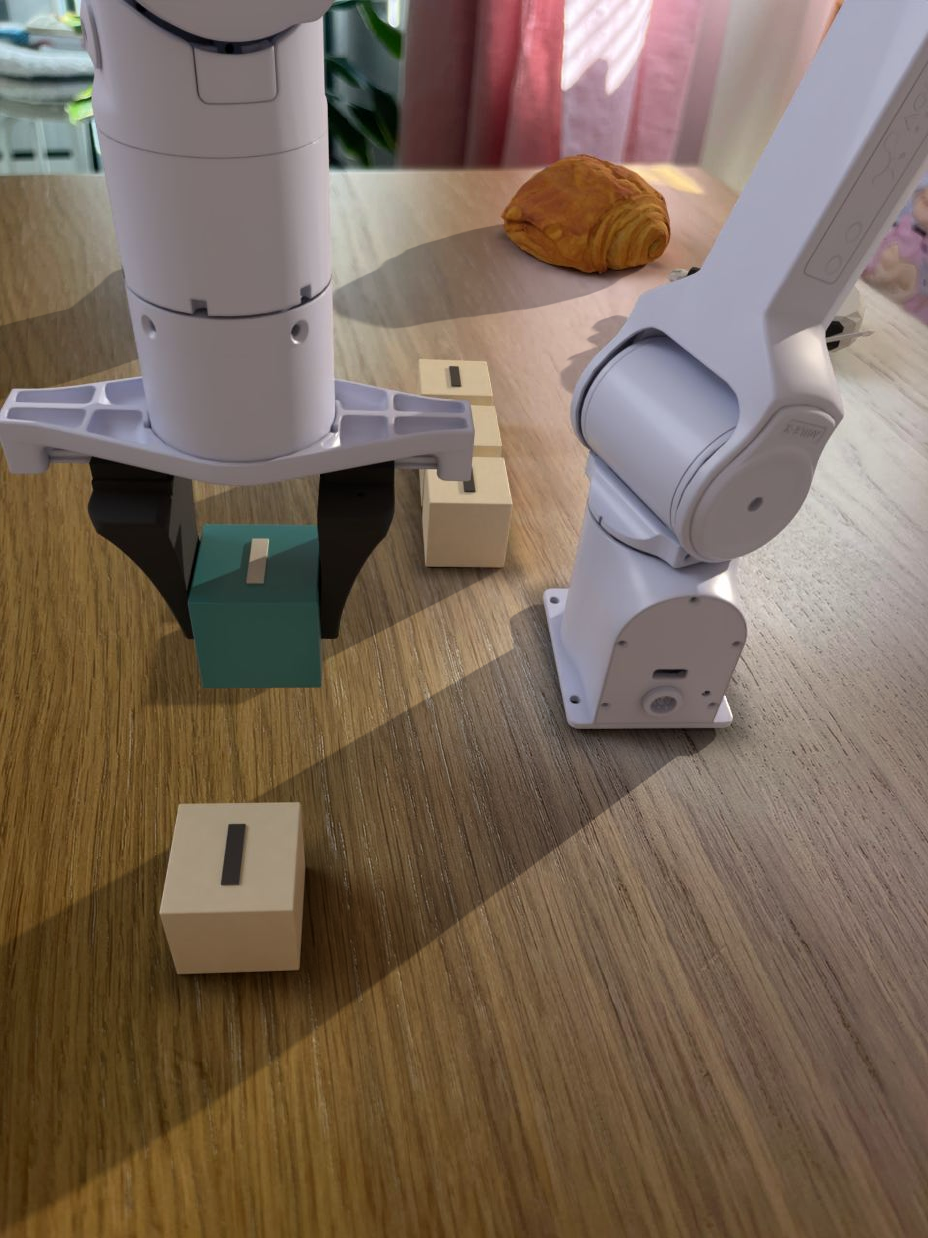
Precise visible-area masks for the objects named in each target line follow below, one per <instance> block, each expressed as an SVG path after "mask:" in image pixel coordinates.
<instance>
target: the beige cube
mask: <svg viewBox="0 0 928 1238" xmlns="http://www.w3.org/2000/svg"><path fill="white" fill-rule="evenodd" d="M505 462H506V461H505V457H501V458H493V457H473V459H472V469H471V479H470V481H444V480H441V479H439V478H438V476H437V469H425V479H424V497H423V507H422V516H421V517H422V519H421V521H422V535H423V538H422V539H423V551H424V565H425V567H426V568H427V567H429V568H430V567H431V568H432V567H433V568H434V567H436V568H438V567H439V568H440V567H441V568H504V567H505V560H506V554H507V547H508V539H509V533H510V527H511V526H510V525H511V518H512V511H513V500H512V494H511V489H510V488H511V487H510V483H509V478H508V472H507V467H506V463H505Z"/></svg>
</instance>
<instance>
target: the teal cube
mask: <svg viewBox="0 0 928 1238" xmlns="http://www.w3.org/2000/svg"><path fill="white" fill-rule="evenodd" d="M199 540H200V544H199V549H198V554H197V559H196V564H195V569H194V574H193V579H192V584H191V589H190V594H189V599H188V608H189V613H190V619H191V625H192V630H193V636H194V639H193V640H194V641H193V642H194V646H195V652H196V657H197V663H198V669H199V674H200V681H201V685H202V688H203V689H297V688H298V689H310V688H311V689H313V688H314V689H315V688H316V689H317V688H321V687H322V686H323V685H322V683H323V664H324V663H323V661H324V642H325V639H321V627H320V597H321V578H322V577H321V562H320V550H319V539H318V530H317V524H309V525H308V524H239V523H237V524H236V523H235V524H234V523H230V524H228V523H227V524H226V523H205V524H203V526H202V531H201V535H200V538H199Z"/></svg>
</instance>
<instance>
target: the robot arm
mask: <svg viewBox="0 0 928 1238" xmlns="http://www.w3.org/2000/svg"><path fill="white" fill-rule="evenodd" d="M335 1H336V0H80V7H79V8H80V9H79V21H80V27H81V29H80V30H81V33H82V38H83V42H84V46H85V49H86V53H87V54H88V56H89V58H90V60H91V62H92V67H93V73H94V75H93V83H92V86H91V92H90V94H91V109H92V114H93V119H94V124H95V128H96V134H97V139H98V145H99V152H100V156H101V161H102V167H103V173H104V178H105V183H106V189H107V195H108V200H109V206H110V212H111V217H112V222H113V228H114V234H115V239H116V244H117V249H118V256H119V260H120V266H121V272H122V278H123V283H124V287H125V292H126V298H127V303H128V304H127V305H128V310H129V314H130V320H131V325H132V331H133V336H134V341H135V347H136V353H137V358H138V364H139V368H140V369H139V370H140V374H141V375H140V376H133V377H126V378H120V379H112V380H106V381H99V382H91V383H85V384H76V385H68V386H60V387H44V388H43V387H42V388H12V389H11V390H10V392H9V393H8V396H7V398H6V400H5V402H4V404H2V407H1V409H0V445H1V448H2V450H3V454H4V457H5V461H6V463H7V466H8V469H9V473H10V474H12V475H42V474H44V473H46V472H47V471H48V470H49V469H50V466H51V464H88V466H89V470H90V473H91V478H92V479H91V481H90V483H91V488H92V491H91V494H90V496H89V500H88V502H87V513H88V517H89V519H90V522H91V524H92V526H93V528H94V530H95V532H96V533H97V534H98V535H99V536H101V537H102V538H104V539H106V540H107V542H109V543H111V544H112V545H114V546H115V547H116V548H118V549H119V550H120V551H121V552H122V553H123V554H124V555H125V556H127V557H128V558H129V559H130V560H131V561H132V562H133V563H134V564H135V565H136V566H137V568H139V570H141V571H142V573H143V574H144V575H145V576H146V577H147V578H148V580H149V581H150V582H151V584H152V585H153V587H155V589H156V590H157V591H158V593H159V594H160V595H161V597H162V599H163V600H164V602H165V603H166V605H167V606H168V608H169V609H170V611H171V613H172V615H173V616H174V618H175V620H176V622H177V624H178V625H179V628H180V629H181V631H182V634H183V636H184V638H185V639H186V640H194V636H193V630H192V625H191V619H190V613H189V608H188V599H189V594H190V589H191V584H192V579H193V574H194V569H195V564H196V559H197V554H198V549H199V544H200V536H199V531H198V525H197V519H196V508H195V498H194V497H195V496H194V486H193V485H194V484H193V481H195V482H201V483H204V484H205V483H206V484H210V485H216V486H226V487H251V486H262V485H263V486H264V485H269V484H274V483H281V482H285V481H291V480H296V479H301V478H306V477H313V476H318V475H319V479H318V480H319V481H318V492H317V493H318V494H317V506H316V507H317V509H316V512H317V513H316V525H317V530H318V539H319V550H320V562H321V577H322V578H321V597H320V627H321V639H324V640H336V639H338V638H339V636H340V625H341V620H342V617H343V612H344V610H345V607H346V603H347V601H348V597H349V596H350V593H351V592H352V591H351V590H352V588H353V586H354V584H355V583H356V580H357V578H358V576H359V574H360V572H361V570H362V568H363V567H364V565H365V563H366V562H367V560H368V559H369V558H370V556H371V555H372V553H373V552H374V550H375V549H376V548H378V546H379V544H380V543H381V542H382V541H383V540H384V539H385V538H386V537H387V536H388V535H387V534H388V533H389V530H390V528H391V525H392V522H393V520H394V516H395V510H396V492H395V477H396V476H395V474H396V473H395V472H396V470H419V469H437V476H438V478H439V479H441V480H444V481H470V479H471V469H472V459H473V448H474V438H475V429H474V423H473V416H472V410H471V403H470V401H468V400H453V399H441V398H432V397H425V396H420V395H417V394H413V393H408V392H403V391H399V390H394V389H390V388H385V387H380V386H376V385H371V384H366V383H362V382H357V381H351V380H348V379H346V380H345V379H343V378H337V377H335V347H334V346H335V345H334V344H335V343H334V340H335V339H334V304H333V303H334V300H333V299H334V298H333V296H334V295H333V273H332V271H333V270H332V269H333V268H332V236H331V235H332V234H331V233H332V231H331V229H332V228H331V198H330V197H331V195H330V191H331V190H330V158H329V157H330V153H329V152H330V151H329V149H330V148H329V117H328V115H329V114H328V113H329V112H328V111H329V110H328V109H329V108H328V107H329V106H328V101H327V100H328V99H327V96H326V91H325V53H324V51H325V49H324V48H325V47H324V15H325V14H326V13H327V12H328V10H329V9H331V7H332V5H333V4H334V3H335ZM927 171H928V0H843V3H842V5H841V6H840V8H839V10H838V12H837V14H836V15H835V17H834V19H833V21H832V23H831V24H830V27H829V29H828V31H827V32H826V34H825V36H824V38H823V40H822V42H821V44H820V45H819V47H818V49H817V51H816V53H815V55H814V57H813V58H812V60H811V62H810V64H809V66H808V67H807V69H806V71H805V73H804V75H803V77H802V79H801V80H800V82H799V84H798V86H797V88H796V90H795V92H794V94H793V96H792V97H791V99H790V101H789V103H788V105H787V107H786V109H785V111H784V112H783V114H782V116H781V118H780V119H779V122H778V124H777V126H776V127H775V129H774V131H773V133H772V135H771V137H770V139H769V140H768V142H767V144H766V146H765V148H764V150H763V151H762V154H761V155H760V157H759V158H758V161H757V163H756V165H755V166H754V169H753V170H752V172H751V174H750V176H749V178H748V180H747V181H746V183H745V185H744V187H743V189H742V191H741V192H740V195H739V196H738V199H737V200H736V202H735V204H734V206H733V208H732V210H731V212H730V213H729V215H728V217H727V218H726V221H725V222H724V225H723V226H722V228H721V230H720V232H719V234H718V235H717V238H716V239H715V240H714V243H713V245H712V247H711V248H710V251H709V252H708V253H707V256H706V258H705V260H704V262H703V263H702V265H701V267H700V268H701V269H700V270H699V271H698V272H696V273H694V274H692V275H690V276H687V277H685V278H682V279H679V280H676V281H673V282H670V281H669V282H668V283H665V284H662V285H659V286H657V287H654V288H651V289H648V290H647V291H645V292H643V293H642V294H640V295H639V296H638V298H637V300H636V302H635V303H634V307H633V308H632V310H631V312H630V314H629V316H628V317H627V319H626V321H625V323H624V324H623V325H622V327H621V328H620V330H619V331H618V332H617V334H616V335H615V336H614V337H613V338H611V340H610V341H608V343H607V344H605V345H604V347H603V348H602V349H601V350H600V351H599V352H597V354H595V355H594V357H593V358H592V359H591V361H589V362H588V364H587V365H586V367H585V368H584V369H583V372H582V373H581V375H580V377H579V378H578V381H577V383H576V385H575V387H574V391H573V393H572V396H571V397H572V398H571V402H570V408H569V409H570V410H569V411H570V412H569V417H570V425H571V428H572V431H573V433H574V435H575V437H576V439H577V440H578V441H579V443H581V445H582V446H583V447H585V448H586V449H588V450H589V451H588V453H587V454H588V455H587V460H586V466H585V469H584V475H585V476H586V477H587V478H588V481H589V489H588V494H587V498H586V503H585V508H584V513H583V518H582V523H581V527H580V532H579V538H578V541H577V546H576V551H575V556H574V561H573V567H572V571H571V576H570V581H569V585H568V588H547V589H545V590H544V592H543V596H542V600H543V601H542V602H543V606H544V612H545V617H546V622H547V626H548V632H549V636H550V640H551V641H550V642H551V647H552V653H553V656H554V663H555V667H556V672H557V677H558V683H559V687H560V693H561V697H562V703H563V707H564V712H565V718H566V721H567V723H568V725H569V727H571V728H573V729H576V730H577V729H578V730H588V729H589V730H591V729H592V730H597V729H598V730H599V729H600V730H602V729H603V730H604V729H609V730H611V729H613V730H616V729H617V730H618V729H725V728H729V727H730V726H731V724H732V722H733V720H734V717H733V713H732V710H731V707H730V704H729V702H728V699H727V696H726V692H727V690H728V687H729V685H730V682H731V680H732V678H733V675H734V673H735V671H736V668H737V665H738V663H739V660H740V659H741V658H740V657H741V655H742V653H743V650H744V648H745V646H746V642H747V639H748V628H749V627H748V621H747V617H746V614H745V610H744V608H743V603H742V600H741V596H740V594H739V593H740V592H739V582H738V569H739V560H740V557H744V556H747V555H749V554H752V553H753V552H755V551H757V550H759V549H761V548H762V547H764V546H765V545H767V544H768V543H770V542H771V541H772V540H773V539H774V538H776V537H777V536H778V535H779V534H780V533H781V532H782V531H784V529H786V527H787V526H788V525H789V524H790V523H791V522H792V520H793V519H794V518H795V517H796V515H797V514H798V513H799V511H800V510H801V508H802V506H803V505H804V503H805V501H806V500H807V497H808V494H809V492H810V489H811V486H812V483H813V480H814V476H815V472H816V469H817V466H818V462H819V460H820V458H821V457H822V454H823V451H824V449H825V447H826V445H827V444H828V443H829V440H830V438H831V437H832V435H833V434H834V432H835V431H836V429H837V428H838V426H839V425H840V423H841V422H842V421H843V419H844V416H845V411H844V404H843V400H842V396H841V392H840V389H839V385H838V383H837V382H838V381H837V378H836V374H835V371H834V368H833V364H832V360H831V358H830V357H831V356H830V352H828V349H827V345H826V339H825V332H826V330H827V328H828V326H829V325H830V323H831V322H832V320H833V319H834V317H835V315H836V314H837V312H838V311H839V309H840V307H841V306H842V304H843V303H844V301H845V300H846V298H847V296H848V295H849V293H850V292H851V290H852V288H853V287H854V286H855V285H856V284H857V282H858V281H859V280H860V278H861V276H862V274H863V272H864V271H865V269H866V268H867V266H868V265H869V263H870V261H871V260H872V258H873V257H874V255H875V253H876V252H877V250H878V249H879V247H880V246H881V244H882V243H883V242H884V240H885V238H886V236H887V235H888V233H889V232H890V231H891V228H892V227H893V225H894V224H895V223H896V220H897V219H898V218H899V215H900V214H901V212H902V211H903V209H904V208H905V207H906V204H907V203H908V202H909V200H910V198H911V197H912V195H913V194H914V192H915V191H916V189H917V187H918V186H919V184H920V182H921V181H922V179H924V176H925V175H926V173H927ZM574 702H576V703H574Z"/></svg>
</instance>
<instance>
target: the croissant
mask: <svg viewBox="0 0 928 1238" xmlns="http://www.w3.org/2000/svg"><path fill="white" fill-rule="evenodd" d="M500 218H502V219H503V224H502V227H503V229H504V232H505V233H506V236H507V237H508V238H509V240H510V241H511V242H512V244H515V245H516V246H518V247H519V249H520V250H522V251H523V252H526V253H528V254H529V255H532V256H533V257H534V258H536V259H538V260H539V261H542V262H543V263H546V264H549V265H554V266H559V267H567V268H573V269H575V270H579V271H581V272H582V273H588V274H591V273H593V272H598V274H603V273H606V271H607V270H608V269H611V270H616V271H618V270H619V271H620V270H621V271H622V270H624V269H631V268H632V267H639V266H644V265H646V264H648V263H652V262H655V261H656V260H657V259H660V257H662V256H663V254H664V253H665V251H666V250H667V247H668V245H669V243H670V241H671V237H672V236H671V235H672V232H671V221H670V215H669V211H668V206H667V202H666V199H665V196H663V194H662V193H661V192H660V191H658V190H657V189H656V188H654V187H653V186H652V185H651V184H649V182H647V181H646V180H645V178H643V176H641V175H640V174H638V173H637V172H636V171H633V170H631V169H629V168H628V167H626V166H623V165H619V164H615V163H612V162H611V161H608V160H603V159H600V158H598V157H595V156H592V155H588V154H586V153H583V154H582V153H581V154H576V155H568V156H565V157H563V158H561V159H559V160H557V161H555V162H554V163H552V164H551V165H550V166H545V168H543V169H541V170H539V171H537V172H535V173H533V175H532V176H531V177H530V178H529V179H527V180H526V182H524V183H523V184H522V185H521V186H520V188H518V190H517V191H516V193H515V194H514V196H513V197H512V198H511V199H510V202H509V203H508V204H507V205H506V206H505V208H504V210H503V211H502V212H501V214H500Z"/></svg>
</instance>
